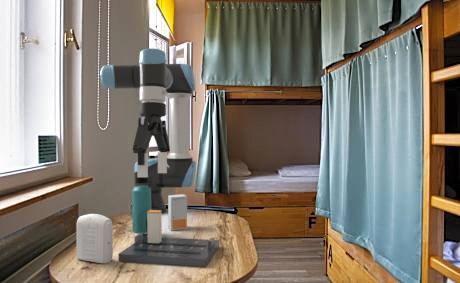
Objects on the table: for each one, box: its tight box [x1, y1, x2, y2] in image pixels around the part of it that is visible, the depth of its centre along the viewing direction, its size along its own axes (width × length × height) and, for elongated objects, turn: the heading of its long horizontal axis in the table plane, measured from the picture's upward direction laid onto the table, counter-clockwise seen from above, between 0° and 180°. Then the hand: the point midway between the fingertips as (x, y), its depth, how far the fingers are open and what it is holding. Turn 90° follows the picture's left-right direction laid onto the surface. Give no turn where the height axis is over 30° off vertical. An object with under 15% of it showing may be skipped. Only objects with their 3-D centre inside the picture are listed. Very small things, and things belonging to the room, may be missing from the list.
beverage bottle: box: [131, 177, 151, 235], centre depth 114 cm, size 6×7×20 cm
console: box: [117, 234, 220, 268], centre depth 96 cm, size 16×24×4 cm, turn 79°
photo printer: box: [75, 213, 114, 264], centre depth 92 cm, size 10×4×12 cm, turn 69°
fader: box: [147, 210, 163, 243], centre depth 99 cm, size 2×4×9 cm, turn 79°
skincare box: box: [167, 193, 188, 232], centre depth 122 cm, size 6×4×12 cm
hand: (153, 175), depth 99 cm, fingers open, 13 cm apart
